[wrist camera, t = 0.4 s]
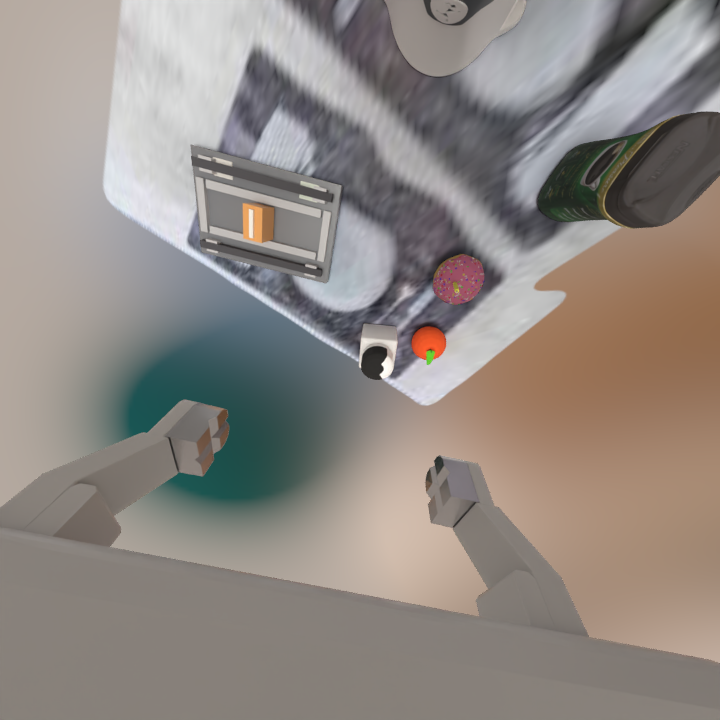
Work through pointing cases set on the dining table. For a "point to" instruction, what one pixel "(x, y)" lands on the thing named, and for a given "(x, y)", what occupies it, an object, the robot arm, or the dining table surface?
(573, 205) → the coffee jar
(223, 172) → the pair of dark pieces
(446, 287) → the cupcake
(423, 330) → the clementine
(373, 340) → the medicine bottle
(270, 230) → the block
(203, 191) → the panel
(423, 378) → the dining table surface
